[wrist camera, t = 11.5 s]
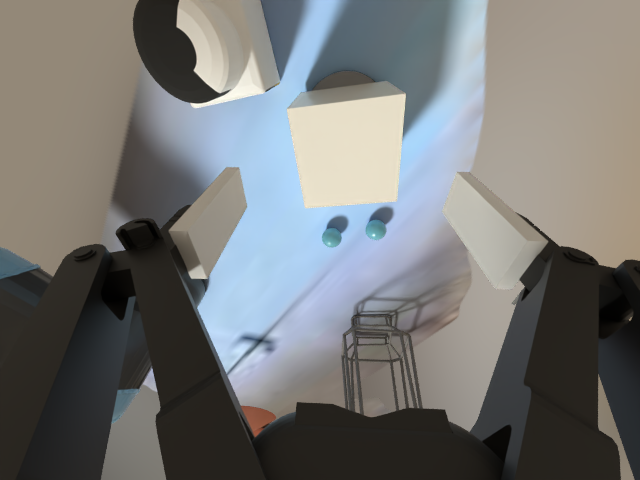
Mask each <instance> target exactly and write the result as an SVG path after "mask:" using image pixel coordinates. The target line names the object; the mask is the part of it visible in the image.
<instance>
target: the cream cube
mask: <svg viewBox="0 0 640 480" xmlns="http://www.w3.org/2000/svg"><path fill="white" fill-rule="evenodd" d="M405 99H406V93H404V92H403V91H401V90H400V89H398V88H397V87H395V86H394V85H392V84H391V83H389V82H388V81H381V82H374V83H367V84H359V85H352V86H345V87H337V88H330V89H323V90H315V91H308V92H301V93H300V94H299V95H298V96H297V98H296V99H295V100H294V101H293V102H292V103H291V105H290V106H289V107H288V108H287V113H288V119H289V124H290V129H291V135H292V140H293V146H294V151H295V156H296V162H297V167H298V172H299V178H300V183H301V189H302V194H303V199H304V205H305V208H315V207H328V206H342V205H355V204H368V203H381V202H394V201H397V194H398V182H399V170H400V158H401V146H402V135H403V123H404V111H405Z"/></svg>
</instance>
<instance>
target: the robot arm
mask: <svg viewBox="0 0 640 480" xmlns="http://www.w3.org/2000/svg"><path fill="white" fill-rule="evenodd" d="M246 208H247V203H246V199H245V194H244V189H243V184H242V180H241V175H240V170H239V168H238V167H226V168H225V170H224V171H223V172H222V173H221V174H220V175H219V176H218V177H217V178H216V179H215V180H214V182H213V183H212V184H211V185H210V186H209V187H208V188H207V189H206V190H205V191H204V192H203V194H202V195H201V196H200V197H199V198H198V199H197V200H196V201H195V202H194V203H193V204H192V205H187V206H185V207H183V208H182V209H180V210H179V211H178V212H177V213H176V214H175V215H174V217H172V218H171V219H170V220H169V222H167V223H166V224H165V225H164V226H163V227H162V228H161V229H160V230H159V229H158V227H157V225H156V223H155V221H154V220H152V219H138V220H133V221H131V222H128V223H126V224H124V225H122V226H120V227H119V228H118V229H117V231H116V235H117V237H118V239H119V240H120V242H121V243H122V245H123V246H124V248H125V249H126V250H124V251H118V252H112V253H109V252H108V250H107V249H106V247H105V246H103V245H100V244H94V245H88V246H83V247H80V248H79V249H76V250H74V251H73V252H71V253H70V254H68V255H67V256H66V257H65V258H64V259H63V261H62V263H61V264H60V266H59V268H58V270H57V271H56V273H55V275H54V277H53V276H51V275H50V274H48V273H47V272H45V271H43V270H42V269H41V268H40V266H39V265H37V264H35V265H34V264H32V263H31V262H29V261H27V260H25V259H24V258H22V257H20V256H18V255H16V254H15V253H13V252H11V251H9V250H8V249H5V248H1V247H0V480H101V475H102V469H103V463H104V459H105V454H106V449H107V443H108V438H109V433H110V428H111V424H112V423H114V422H116V421H117V420H118V419H119V418H120V417H121V416H122V415H123V414H124V412H125V411H126V409H127V408H128V406H129V405H130V403H131V402H132V400H133V399H134V397H135V396H136V394H137V393H139V391H140V387H141V386H142V384H143V382H144V380H145V379H146V377H147V375H148V373H149V372H150V370H151V368H152V369H153V373H154V378H155V382H156V387H157V391H158V395H159V400H160V406H161V408H160V411H159V413H158V414H157V415H156V427H157V434H158V439H159V444H160V449H161V455H162V460H163V464H164V470H165V475H166V480H621V476H620V456H619V451H618V447H617V445H616V443H615V442H614V440H613V439H612V438H611V437H609V436H607V435H606V434H604V433H603V432H601V431H599V429H598V374H599V377H600V379H601V382H602V385H603V388H604V391H605V394H606V397H607V400H608V403H609V406H610V409H611V412H612V414H613V417H614V420H615V423H616V426H617V429H618V432H619V435H620V438H621V440H622V444H623V446H624V450H625V452H626V455H627V458H628V461H629V464H630V467H631V470H632V473H633V476H634V479H635V480H640V261H637V260H625V261H624V262H623V263H622V264H620V265H619V266H618V267H617V268H611V267H606V266H601V265H599V264H598V262H597V261H596V260H595V259H594V258H593V257H592V256H590V255H588V254H587V253H585V252H582V251H580V250H578V249H574V248H571V247H563V246H561V247H560V246H558V245H557V244H556V243H555V242H554V241H552V240H551V239H550V238H549V237H548V236H547V235H546V234H544V233H543V232H542V231H540V229H539V228H537V227H536V226H534V224H533V223H532V222H530V221H529V220H528V219H527V218H525V217H523V216H522V215H520V214H518V213H516V212H514V211H513V210H512V209H511V208H510V207H509V206H508V205H506V204H505V203H504V202H503V201H502V200H501V199H500V198H498V197H497V196H496V195H495V194H494V193H493V192H492V191H490V190H489V189H488V188H487V187H486V186H485V185H484V184H483V183H482V182H480V181H479V180H478V179H477V178H476V177H475V176H473V175H472V174H471V173H470V172H457V173H456V175H455V178H454V181H453V183H452V186H451V189H450V192H449V194H448V197H447V200H446V202H445V205H444V208H443V210H442V212H443V214H444V215H445V217H446V218H447V220H448V221H449V223H450V224H451V226H452V227H453V229H454V230H455V231H456V233H457V234H458V236H459V237H460V239H461V240H462V242H463V243H464V245H465V246H466V248H467V249H468V251H469V252H470V253H471V255H472V256H473V258H474V259H475V261H476V262H477V264H478V265H479V267H480V268H481V269H482V271H483V272H484V274H485V275H486V277H487V278H488V280H489V281H490V283H491V284H492V286H493V287H494V289H507V290H512V289H513V288H514V287H515V285H516V284H517V283H518V281H519V280H520V281H521V282H522V283H523V284H524V286H525V287H524V289H523V290H522V291H521V292H520V294H519V295H518V296H517V297H516V299H515V300H514V301H513V302H512V304H513V305H515V304H516V303H517V304H516V307H515V310H514V313H513V316H512V319H511V322H510V325H509V328H508V331H507V334H506V337H505V340H504V343H503V346H502V349H501V352H500V355H499V358H498V361H497V364H496V367H495V370H494V373H493V376H492V378H491V382H490V385H489V388H488V390H487V393H486V396H485V399H484V402H483V405H482V408H481V411H480V414H479V417H478V420H477V421H476V423H475V425H474V426H473V428H472V429H471V431H470V432H468V431H467V430H465V429H463V428H462V427H460V426H458V425H456V424H453V423H451V422H449V421H448V418H447V415H446V412H445V410H441V409H440V410H439V409H421V408H406V409H402V410H399V411H395V412H391V413H388V414H384V415H381V416H377V417H367V416H364V415H362V414H359V413H356V412H353V411H350V410H348V409H345V408H342V407H339V406H337V405H334V404H321V403H301V402H297V406H296V412H293V413H290V414H287V415H285V416H282V417H280V418H279V419H277V420H275V421H274V422H272V423H271V424H269V425H268V426H267V427H265V428H264V429H263V430H262V431H261V432H260V433H259V434H258V435H257V436H256V437H255V436H254V433H253V431H252V429H251V427H250V425H249V423H248V420H247V418H246V416H245V414H244V412H243V410H242V408H241V406H240V404H239V401H238V399H237V397H236V395H235V392H234V390H233V388H232V386H231V383H230V381H229V379H228V377H227V374H226V372H225V370H224V368H223V365H222V363H221V361H220V359H219V356H218V354H217V352H216V350H215V347H214V345H213V343H212V341H211V338H210V336H209V334H208V332H207V329H206V327H205V325H204V323H203V320H202V318H201V316H200V314H199V311H198V309H197V307H198V306H199V304H200V302H201V300H202V299H203V297H204V294H205V287H204V284H203V282H202V280H201V279H208V277H209V275H210V273H211V271H212V270H213V268H214V266H215V264H216V262H217V261H218V259H219V257H220V255H221V253H222V252H223V250H224V248H225V246H226V244H227V242H228V241H229V239H230V237H231V235H232V233H233V232H234V230H235V228H236V226H237V224H238V223H239V221H240V219H241V217H242V215H243V213H244V212H245V210H246ZM632 316H633V317H632ZM631 317H632V319H631V321H629V319H630V318H631Z"/></svg>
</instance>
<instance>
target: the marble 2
mask: <svg viewBox="0 0 640 480" xmlns="http://www.w3.org/2000/svg"><path fill="white" fill-rule="evenodd" d="M366 234H367V236H368V237H369V238H370V239H372V240H379V239H381V238H383V237H384V236H385V234H386V226H385V224H384V223H383V222H382V221H380V220H372V221H370V222H369V223H368V224H367V226H366Z"/></svg>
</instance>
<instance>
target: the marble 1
mask: <svg viewBox="0 0 640 480" xmlns="http://www.w3.org/2000/svg"><path fill="white" fill-rule="evenodd" d="M341 239H342V237H341V233H340V232H339V231H338V230H337V229H335V228H329V229H327V230H325V231H324V233H323V235H322V241H323V243H324V244H325V245H326V246H327V247H331V248H333V247H336V246H338V245H339V244H340V242H341Z"/></svg>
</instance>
